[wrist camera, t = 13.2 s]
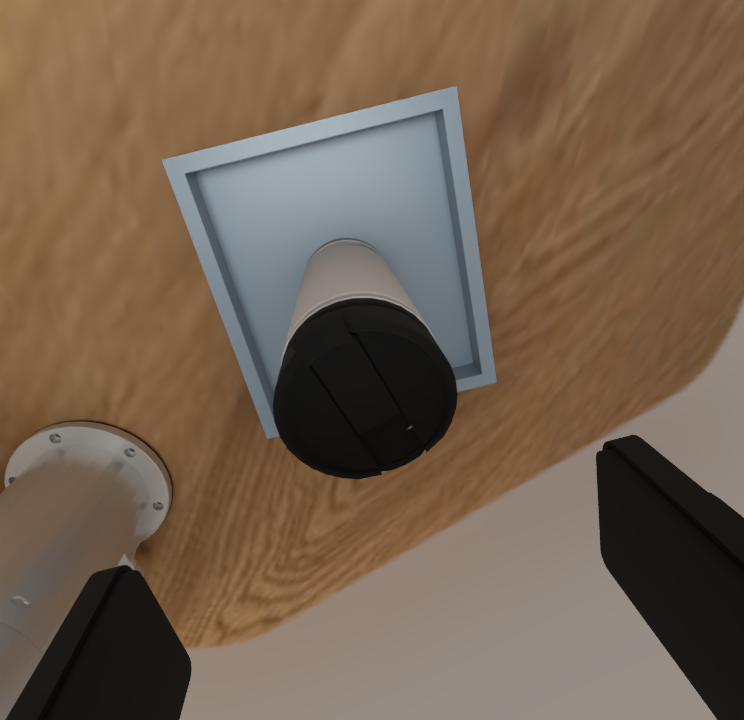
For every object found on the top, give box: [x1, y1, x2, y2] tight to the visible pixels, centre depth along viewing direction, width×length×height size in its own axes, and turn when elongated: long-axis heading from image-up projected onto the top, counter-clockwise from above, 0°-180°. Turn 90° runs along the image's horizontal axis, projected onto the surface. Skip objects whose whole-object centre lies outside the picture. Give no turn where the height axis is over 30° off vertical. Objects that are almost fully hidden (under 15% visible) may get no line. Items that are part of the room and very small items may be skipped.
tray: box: [162, 86, 497, 439], centre depth 32 cm, size 20×18×3 cm
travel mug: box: [273, 238, 458, 479], centre depth 24 cm, size 6×7×20 cm
